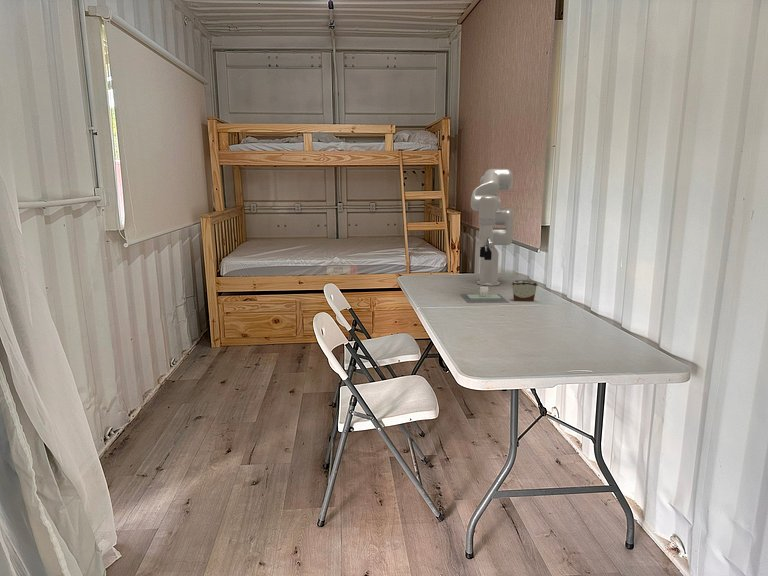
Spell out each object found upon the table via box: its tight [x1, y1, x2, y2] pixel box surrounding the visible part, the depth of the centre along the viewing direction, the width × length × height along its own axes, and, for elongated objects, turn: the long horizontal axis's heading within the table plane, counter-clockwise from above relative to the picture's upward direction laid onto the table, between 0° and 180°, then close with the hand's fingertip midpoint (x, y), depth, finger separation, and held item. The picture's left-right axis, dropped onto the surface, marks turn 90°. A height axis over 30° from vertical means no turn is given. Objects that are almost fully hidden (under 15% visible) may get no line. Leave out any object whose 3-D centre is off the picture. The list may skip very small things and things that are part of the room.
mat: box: [459, 293, 511, 304], centre depth 258 cm, size 20×20×1 cm
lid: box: [466, 285, 501, 300], centre depth 257 cm, size 9×15×6 cm, turn 92°
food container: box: [510, 279, 539, 302], centre depth 254 cm, size 12×6×10 cm, turn 84°
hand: (485, 258), depth 254 cm, fingers open, 9 cm apart
